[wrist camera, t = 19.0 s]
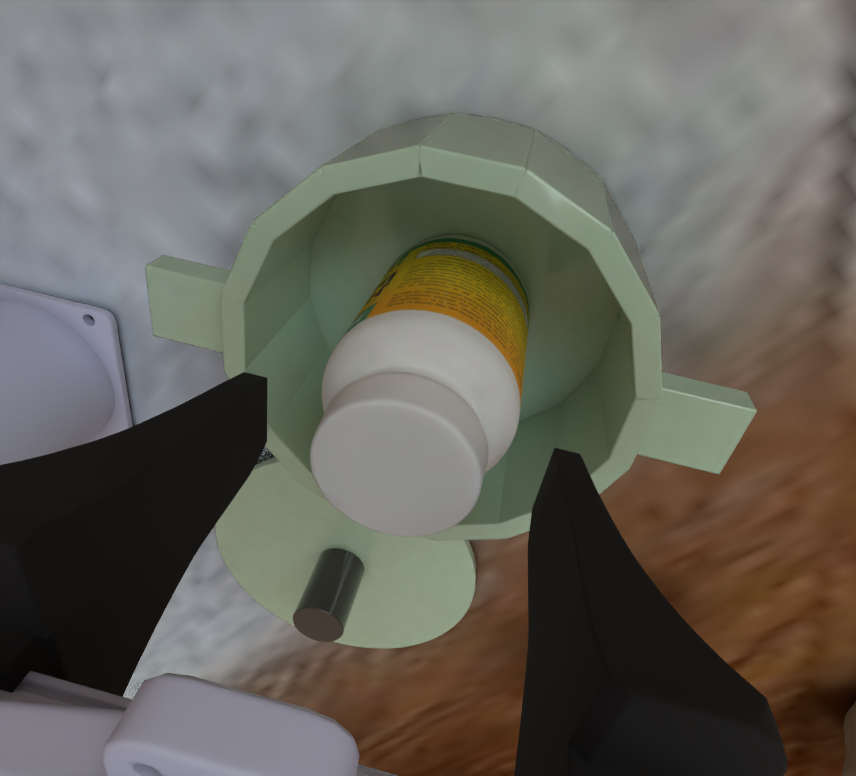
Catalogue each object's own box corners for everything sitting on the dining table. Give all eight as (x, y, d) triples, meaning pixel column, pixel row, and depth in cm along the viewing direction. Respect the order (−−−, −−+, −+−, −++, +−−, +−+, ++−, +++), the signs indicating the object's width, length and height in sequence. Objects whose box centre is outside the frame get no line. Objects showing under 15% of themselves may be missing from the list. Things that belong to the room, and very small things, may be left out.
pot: (638, 480, 24) (658, 600, 19) (234, 379, 26) (155, 468, 21) (788, 178, 17) (878, 243, 12) (224, 60, 19) (102, 76, 14)
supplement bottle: (506, 383, 22) (477, 585, 15) (373, 346, 23) (272, 525, 15) (551, 253, 19) (545, 417, 12) (397, 211, 20) (287, 344, 12)
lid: (451, 656, 33) (437, 738, 30) (228, 594, 34) (187, 667, 30) (506, 486, 26) (497, 567, 22) (220, 413, 27) (163, 479, 23)
